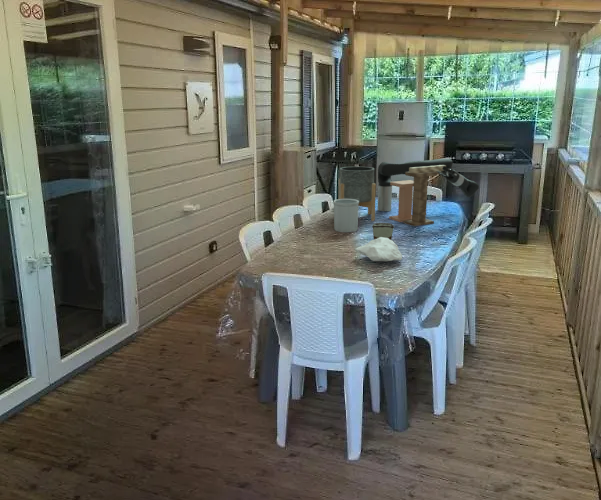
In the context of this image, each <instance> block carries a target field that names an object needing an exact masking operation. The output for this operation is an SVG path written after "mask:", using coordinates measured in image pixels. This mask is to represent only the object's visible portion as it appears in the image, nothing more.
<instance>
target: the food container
mask: <svg viewBox="0 0 601 500" xmlns="http://www.w3.org/2000/svg"><path fill="white" fill-rule="evenodd" d="M371 229H372V235H373V236H372V237H373V240H374V239H377V238H380V237H384V238H389V239H390V240H392V241H393V233H394V229H396V228H395V225H394V224H393V223H390V222H375V223H373V224H372V225H371Z"/></svg>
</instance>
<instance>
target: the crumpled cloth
mask: <svg viewBox="0 0 601 500" xmlns="http://www.w3.org/2000/svg"><path fill="white" fill-rule="evenodd" d="M354 250H355V252H356V253H358V254H360V255H363V256H365V257H367V258H368V259H370V261H372V262H383V263H384V262H385V263H386V262H392V261H402V260H403V254H402V253H401V251H400V250H399V246H398V245H397V244H396V243H395V242H394V241H393V239H392V240H390V239H389V238H384V237H380V238H377V239H374V238H373V239H372V240H370V241H368V242H367V243H366V244H364V245H361V246H357V247H356V248H354Z"/></svg>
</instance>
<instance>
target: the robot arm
mask: <svg viewBox="0 0 601 500" xmlns="http://www.w3.org/2000/svg"><path fill="white" fill-rule="evenodd" d="M436 165H446V167H445V166H443V168H442V169H443V170H444V171H435V172H437V174H439V175H441V176H442V177H444V178H445V180H446V181H447V182H449V183H450V184H452V185H453V186H456V187H457V188H458V189H460V190H461V192H462V193H463V195H464V196H465V197H467V198H471V197H473V196H474V195H475V193H476V192H477V191H478V189H480V187H479V184H478V183H477V182H476V181H474V180H470V179H468V178H467V177H466V176H464V175H463V174H460V173H459V172H458V171H456V170H455V169H453V160H452V159H451V158H434V159H430V160H429V159H427V160H426V159H425V160H411V161H406V162H403V163H391V162H388V161H383V162H381V163H380V164H379V165H378V168H377V182H378V188H377V189H378V193H377V212H391V211H392V199H393V198H392V195H393V186H392V185H390V182H393V181H392V176H399V175H405V173H406V172H409V168H412V167H424V166H436Z"/></svg>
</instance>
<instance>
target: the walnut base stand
mask: <svg viewBox="0 0 601 500" xmlns="http://www.w3.org/2000/svg"><path fill="white" fill-rule="evenodd" d="M404 176H407V177H412V178H413V181H414V185H413V193H412V214H411V215H412V220H406V221H403V222H402V223H403V224H405V225H408V226H411V227H418V226H425V225H434V223H435V221H434V220H431V219H428V218H427V201H428V188H429V187H428V184H429V177H435V176H438V172H436V171H433V172H422V173H409V172H406V173H405V174H404Z"/></svg>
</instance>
